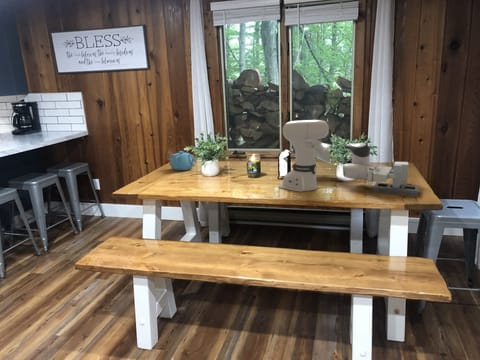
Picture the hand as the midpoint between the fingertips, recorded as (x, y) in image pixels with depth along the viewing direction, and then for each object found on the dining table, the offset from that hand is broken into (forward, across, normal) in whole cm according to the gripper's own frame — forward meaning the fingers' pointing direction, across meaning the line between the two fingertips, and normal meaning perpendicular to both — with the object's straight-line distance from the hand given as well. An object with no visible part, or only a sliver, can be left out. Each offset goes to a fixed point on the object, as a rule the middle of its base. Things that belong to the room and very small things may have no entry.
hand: (398, 174), depth 208 cm
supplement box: (-1, -16, -10) cm, 19 cm away
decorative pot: (-147, -1, -10) cm, 147 cm away
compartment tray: (-1, 0, -10) cm, 10 cm away
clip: (-1, 0, -8) cm, 8 cm away
